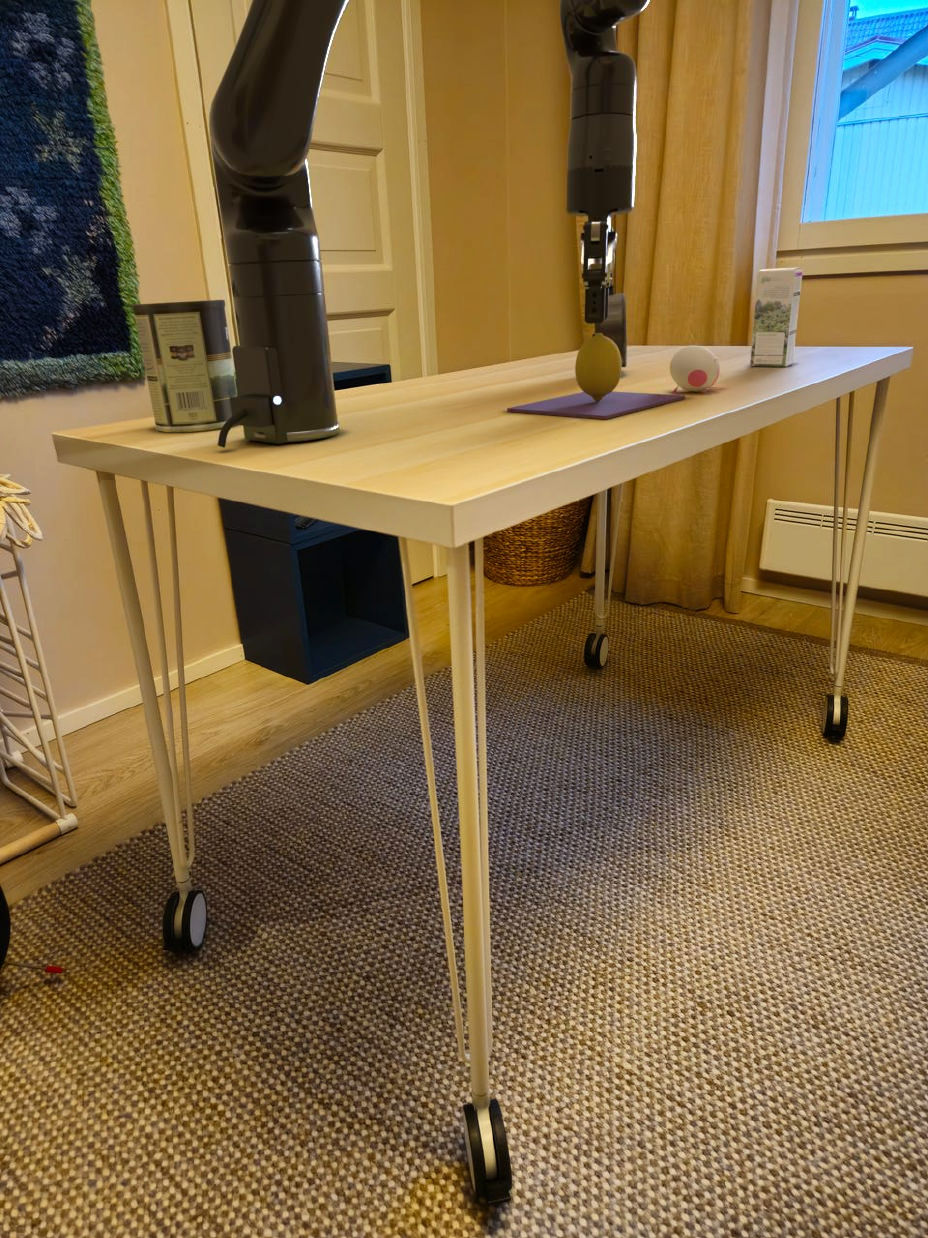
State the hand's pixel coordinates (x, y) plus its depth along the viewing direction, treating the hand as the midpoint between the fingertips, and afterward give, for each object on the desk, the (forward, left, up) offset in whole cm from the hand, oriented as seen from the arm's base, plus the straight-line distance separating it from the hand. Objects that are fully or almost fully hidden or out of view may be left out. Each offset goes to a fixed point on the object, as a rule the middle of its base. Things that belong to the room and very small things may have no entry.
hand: (596, 321), depth 98 cm
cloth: (0, 0, -10) cm, 10 cm away
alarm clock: (+29, +17, -10) cm, 35 cm away
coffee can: (-34, +35, -10) cm, 49 cm away
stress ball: (+16, -5, -10) cm, 20 cm away
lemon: (0, 0, -10) cm, 10 cm away
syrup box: (+49, -1, -10) cm, 50 cm away
